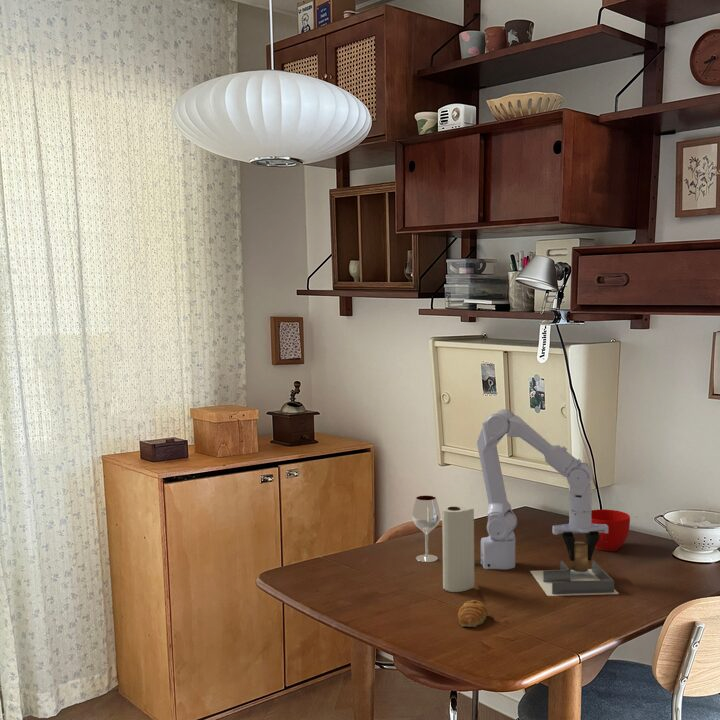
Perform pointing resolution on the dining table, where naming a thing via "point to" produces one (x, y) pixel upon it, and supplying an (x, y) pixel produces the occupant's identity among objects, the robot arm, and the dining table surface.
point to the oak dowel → (580, 557)
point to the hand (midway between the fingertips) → (580, 559)
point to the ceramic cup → (611, 528)
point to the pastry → (472, 613)
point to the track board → (573, 577)
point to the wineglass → (426, 521)
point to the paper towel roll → (458, 548)
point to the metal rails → (565, 586)
